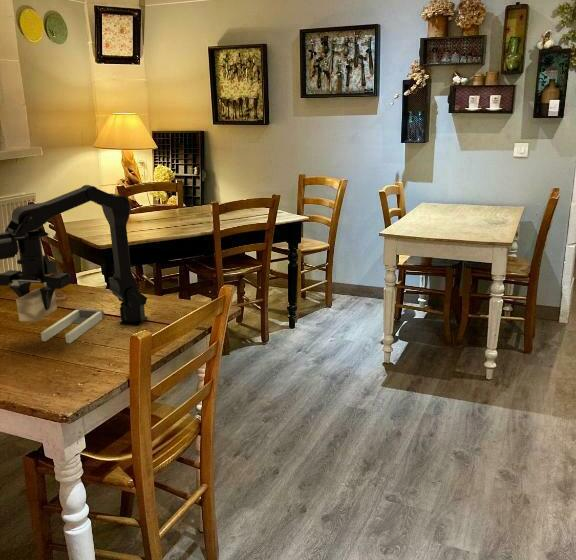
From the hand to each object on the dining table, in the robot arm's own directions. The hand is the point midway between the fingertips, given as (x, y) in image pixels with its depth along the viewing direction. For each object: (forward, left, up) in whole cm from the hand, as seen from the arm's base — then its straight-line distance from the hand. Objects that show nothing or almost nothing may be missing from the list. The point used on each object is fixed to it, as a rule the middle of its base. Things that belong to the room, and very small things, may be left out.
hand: (38, 309), depth 161 cm
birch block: (0, 0, -2) cm, 2 cm away
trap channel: (-2, -12, -11) cm, 17 cm away
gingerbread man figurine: (+19, -36, -11) cm, 42 cm away
